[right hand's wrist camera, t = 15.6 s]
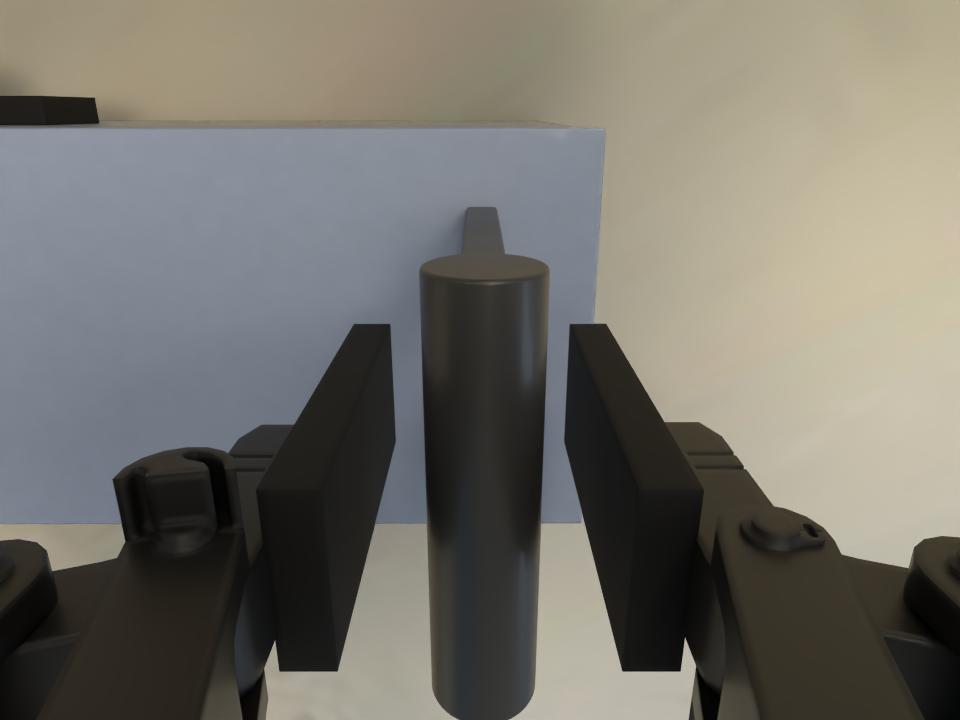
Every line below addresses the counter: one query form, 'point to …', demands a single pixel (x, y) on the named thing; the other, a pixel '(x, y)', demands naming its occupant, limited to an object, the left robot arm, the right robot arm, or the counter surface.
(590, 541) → the right robot arm
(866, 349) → the counter surface
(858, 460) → the counter surface
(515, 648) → the lid
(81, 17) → the counter surface
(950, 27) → the counter surface
